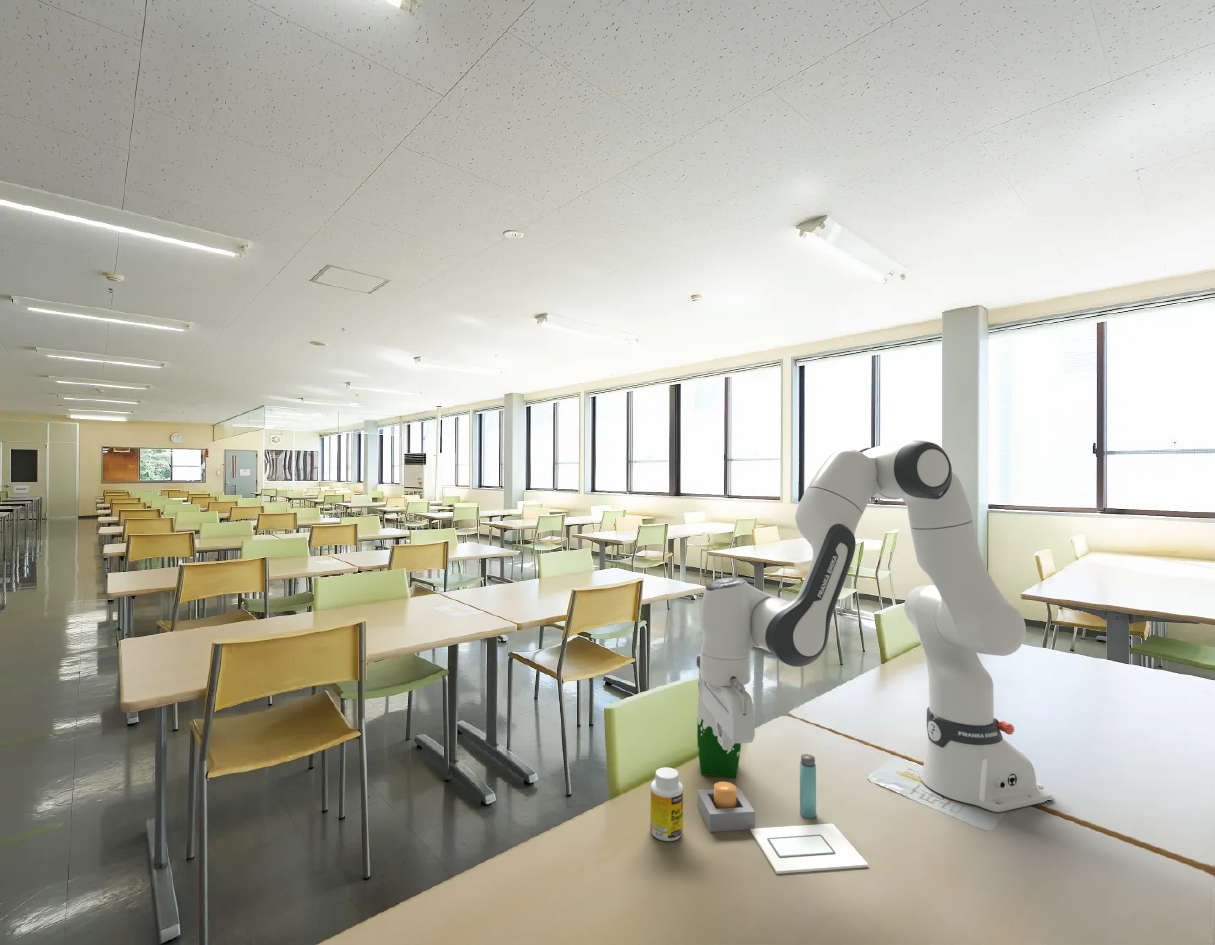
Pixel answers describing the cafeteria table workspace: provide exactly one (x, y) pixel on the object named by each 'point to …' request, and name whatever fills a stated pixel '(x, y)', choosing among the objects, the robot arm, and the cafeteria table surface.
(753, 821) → the button housing
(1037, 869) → the cafeteria table surface
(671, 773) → the supplement bottle
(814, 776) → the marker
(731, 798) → the button
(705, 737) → the milk carton
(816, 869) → the worksheet
